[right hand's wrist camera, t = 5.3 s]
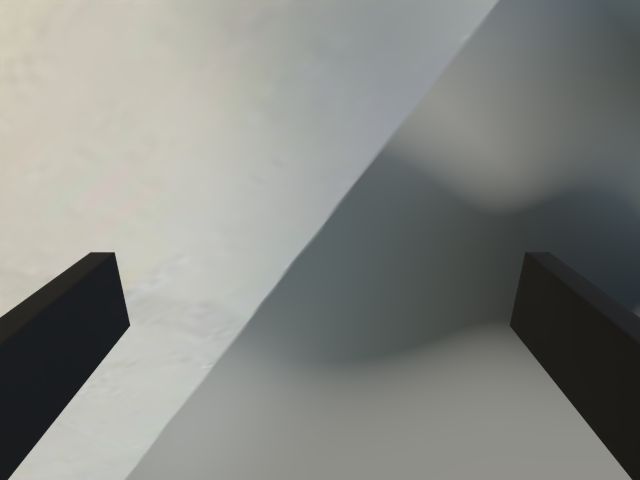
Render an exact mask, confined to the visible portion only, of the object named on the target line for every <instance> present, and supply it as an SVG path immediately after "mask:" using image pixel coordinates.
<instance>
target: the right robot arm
mask: <svg viewBox="0 0 640 480" xmlns="http://www.w3.org/2000/svg"><path fill="white" fill-rule="evenodd" d="M129 326H130V322H129V318H128V313H127V308H126V304H125V299H124V294H123V289H122V285H121V280H120V275H119V271H118V266H117V261H116V257H115V252H91V253H89V254H88V255H86V256H85V257H84V258H82V259H81V260H79V261H78V262H77V263H75V264H74V265H73V266H71V267H70V268H68V269H67V270H66V271H64V272H63V273H61V274H60V275H59V276H57V277H56V278H55V279H53V280H52V281H50V282H49V283H48V284H46V285H45V286H43V287H42V288H41V289H39V290H38V291H37V292H35V293H34V294H32V295H31V296H30V297H28V298H27V299H25V300H24V301H23V302H21V303H20V304H19V305H17V306H16V307H14V308H13V309H12V310H10V311H9V312H7V313H6V314H5V315H3V316H2V317H1V318H0V480H8V479H9V478H10V476H11V475H12V474H13V472H14V471H15V470H16V469H17V467H18V466H19V465H20V464H21V462H22V461H23V460H24V459H25V457H26V456H27V455H28V454H29V452H30V451H31V450H32V449H33V447H34V446H35V445H36V444H37V442H38V441H39V440H40V438H41V437H42V436H43V435H44V433H45V432H46V431H47V430H48V428H49V427H50V426H51V425H52V423H53V422H54V421H55V420H56V418H57V417H58V416H59V415H60V413H61V412H62V411H63V410H64V408H65V407H66V406H67V405H68V403H69V402H70V401H71V399H72V398H73V397H74V396H75V394H76V393H77V392H78V391H79V389H80V388H81V387H82V386H83V384H84V383H85V382H86V381H87V379H88V378H89V377H90V376H91V374H92V373H93V372H94V371H95V369H96V368H97V367H98V365H99V364H100V363H101V362H102V360H103V359H104V358H105V357H106V355H107V354H108V353H109V352H110V350H111V349H112V348H113V347H114V345H115V344H116V343H117V342H118V340H119V339H120V338H121V337H122V335H123V334H124V333H125V332H126V330H127V329H128V328H129ZM510 326H511V328H512V329H513V330H514V332H515V333H516V334H517V335H518V337H519V338H520V339H521V340H522V342H523V343H524V344H525V345H526V347H527V348H528V349H529V350H530V352H531V353H532V354H533V355H534V357H535V358H536V359H537V360H538V362H539V363H540V364H541V365H542V367H543V368H544V369H545V371H546V372H547V373H548V374H549V376H550V377H551V378H552V379H553V381H554V382H555V383H556V384H557V386H558V387H559V388H560V389H561V391H562V392H563V393H564V394H565V396H566V397H567V398H568V399H569V401H570V402H571V403H572V405H573V406H574V407H575V408H576V410H577V411H578V412H579V413H580V415H581V416H582V417H583V418H584V420H585V421H586V422H587V423H588V425H589V426H590V427H591V428H592V430H593V431H594V432H595V433H596V435H597V436H598V437H599V438H600V440H601V441H602V442H603V444H604V445H605V446H606V447H607V449H608V450H609V451H610V452H611V454H612V455H613V456H614V457H615V459H616V460H617V461H618V462H619V463H620V465H621V466H622V467H623V469H624V470H625V471H626V472H627V474H628V475H629V476H630V477H631V479H632V480H640V318H639V317H638V316H637V315H635V314H634V313H633V312H631V311H630V310H628V309H627V308H626V307H624V306H623V305H621V304H620V303H619V302H617V301H616V300H615V299H613V298H612V297H610V296H609V295H608V294H606V293H605V292H603V291H602V290H601V289H599V288H598V287H597V286H595V285H594V284H592V283H591V282H590V281H588V280H587V279H585V278H584V277H583V276H581V275H580V274H579V273H577V272H576V271H574V270H573V269H572V268H570V267H569V266H567V265H566V264H565V263H563V262H562V261H561V260H559V259H558V258H556V257H555V256H554V255H552V254H551V253H549V252H526V253H525V257H524V261H523V266H522V271H521V275H520V280H519V285H518V289H517V294H516V299H515V304H514V308H513V313H512V318H511V322H510Z"/></svg>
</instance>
